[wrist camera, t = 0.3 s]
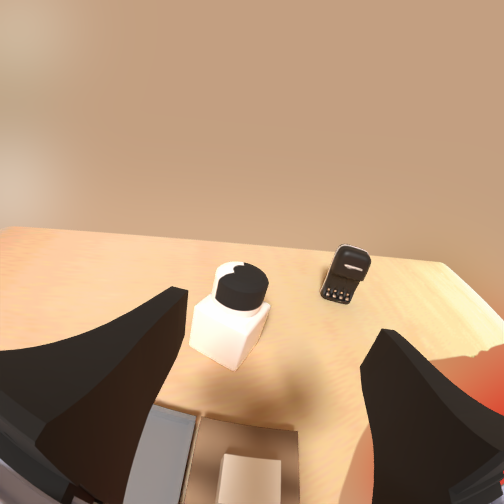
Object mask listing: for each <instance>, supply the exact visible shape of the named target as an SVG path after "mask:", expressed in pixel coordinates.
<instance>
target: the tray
mask: <svg viewBox="0 0 504 504" xmlns="http://www.w3.org/2000/svg"><path fill="white" fill-rule="evenodd" d="M195 421H196V416H193V415H189V414H186V413H182V412H178V411H174V410H171V409H167V408H164V407H161V406H157V405H154V404H153V405H152V408H151V410H150V412H149V415H148V417H147V420H146V423H145V426H144V429H143V432H142V435H141V438H140V441H139V444H138V447H137V450H136V454H135V457H134V461H133V464H132V468H131V471H130V475H129V479H128V483H127V488H126V492H125V496H124V501H123V504H178V501H179V496H180V492H181V487H182V482H183V477H184V472H185V467H186V463H187V458H188V453H189V448H190V444H191V439H192V435H193V430H194V425H195ZM93 504H98V503H96V502H94V503H93Z"/></svg>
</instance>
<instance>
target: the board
mask: <svg viewBox="0 0 504 504" xmlns="http://www.w3.org/2000/svg"><path fill="white" fill-rule="evenodd" d="M224 454H230V455H236V456H243V457H251V458H260V459H270V460H281V501H280V504H300V486H299V452H298V431H289V430H278V429H270V428H262V427H254V426H248V425H242V424H236V423H230V422H225V421H220V420H215V419H210V418H206V417H201V421H200V425H199V430H198V435H197V440H196V445H195V449H194V454H193V459H192V464H191V469H190V475H189V480H188V485H187V490H186V495H185V500H184V504H215V500H216V493H217V486H218V478H219V471H220V464H221V459H222V457H223V456H224Z"/></svg>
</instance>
